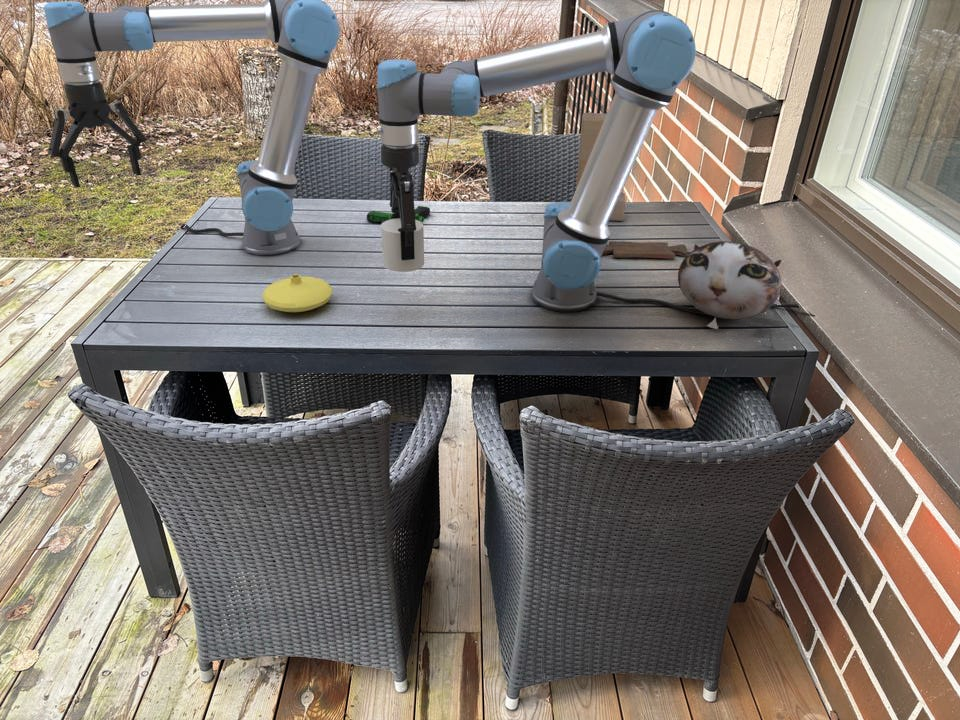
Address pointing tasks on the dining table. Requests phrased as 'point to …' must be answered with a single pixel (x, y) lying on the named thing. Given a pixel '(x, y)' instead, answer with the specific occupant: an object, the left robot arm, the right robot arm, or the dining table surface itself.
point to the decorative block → (587, 141)
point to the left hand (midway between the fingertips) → (107, 180)
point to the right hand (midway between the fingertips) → (403, 250)
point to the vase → (297, 294)
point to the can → (393, 247)
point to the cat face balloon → (729, 280)
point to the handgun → (382, 217)
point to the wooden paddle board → (644, 249)
